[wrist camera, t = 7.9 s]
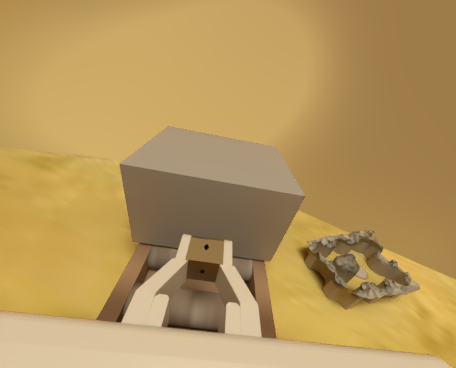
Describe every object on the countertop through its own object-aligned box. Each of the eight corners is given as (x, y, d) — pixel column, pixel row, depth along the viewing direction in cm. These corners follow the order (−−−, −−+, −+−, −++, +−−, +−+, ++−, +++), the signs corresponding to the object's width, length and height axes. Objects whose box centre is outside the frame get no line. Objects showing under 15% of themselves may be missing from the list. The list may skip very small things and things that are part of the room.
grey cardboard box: (270, 261, 17) (305, 196, 12) (132, 241, 16) (119, 163, 11) (258, 198, 25) (276, 147, 21) (168, 183, 24) (168, 126, 20)
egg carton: (356, 247, 26) (374, 228, 24) (408, 303, 20) (438, 285, 17) (294, 249, 23) (308, 228, 21) (332, 315, 17) (356, 295, 15)
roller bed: (282, 454, 10) (389, 457, 5) (44, 439, 9) (-100, 427, 4) (251, 205, 29) (267, 156, 24) (173, 192, 28) (174, 138, 23)
